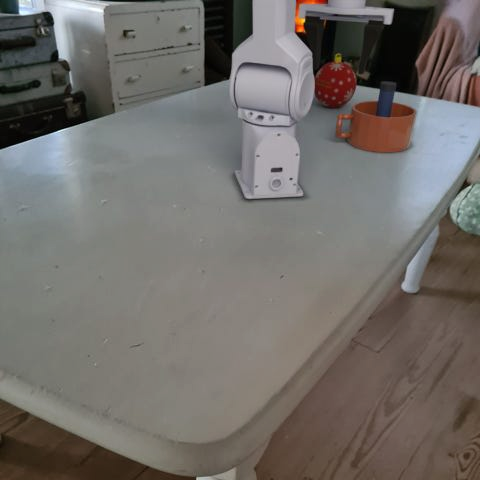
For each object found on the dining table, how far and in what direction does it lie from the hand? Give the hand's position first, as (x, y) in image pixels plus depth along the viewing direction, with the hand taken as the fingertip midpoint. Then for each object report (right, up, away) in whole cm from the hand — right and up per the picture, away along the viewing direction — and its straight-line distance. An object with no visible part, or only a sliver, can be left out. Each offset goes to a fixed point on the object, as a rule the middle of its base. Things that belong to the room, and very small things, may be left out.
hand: (338, 71), depth 86 cm
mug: (+6, -11, +3) cm, 13 cm away
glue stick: (+8, -10, +3) cm, 13 cm away
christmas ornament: (+3, +3, +21) cm, 22 cm away
